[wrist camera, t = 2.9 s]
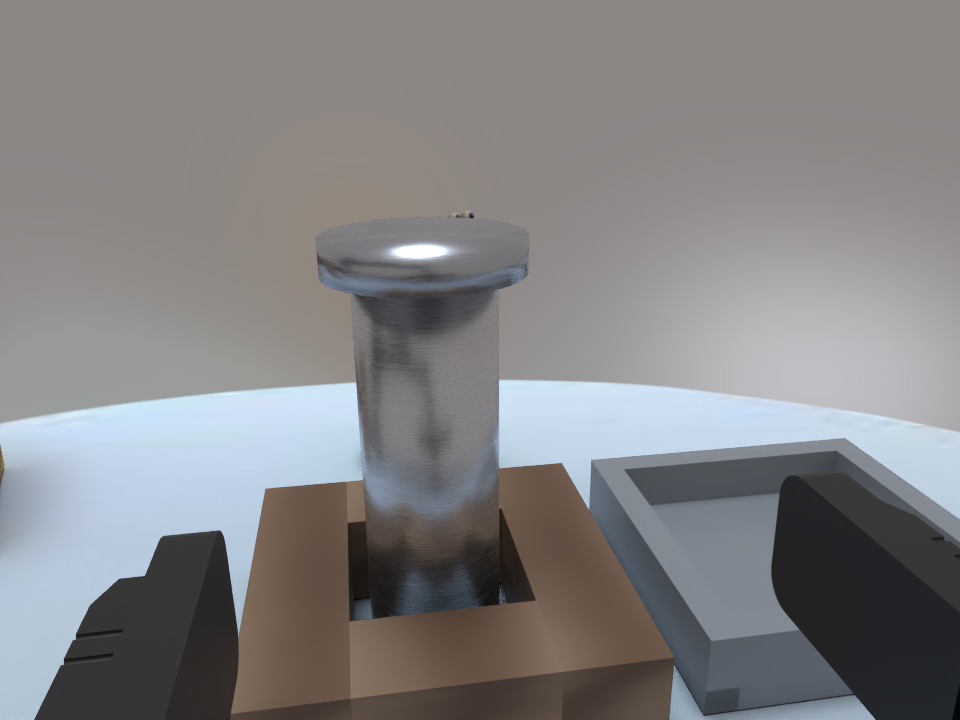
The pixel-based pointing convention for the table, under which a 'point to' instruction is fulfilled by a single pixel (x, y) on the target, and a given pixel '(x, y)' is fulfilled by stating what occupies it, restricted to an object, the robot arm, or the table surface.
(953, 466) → the table surface
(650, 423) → the table surface
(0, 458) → the candy box
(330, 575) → the walnut block
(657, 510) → the grey tray
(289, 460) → the table surface
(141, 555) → the table surface
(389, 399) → the steel pin
